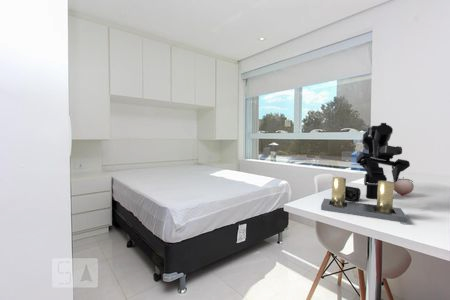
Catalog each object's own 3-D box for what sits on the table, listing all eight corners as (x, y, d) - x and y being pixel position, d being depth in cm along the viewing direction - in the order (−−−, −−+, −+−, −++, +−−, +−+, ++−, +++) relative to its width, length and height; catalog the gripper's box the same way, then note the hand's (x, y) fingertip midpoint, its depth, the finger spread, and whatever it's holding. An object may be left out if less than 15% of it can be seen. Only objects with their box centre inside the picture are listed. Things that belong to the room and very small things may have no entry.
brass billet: (374, 214, 87) (376, 181, 86) (378, 211, 90) (380, 180, 89) (389, 218, 83) (392, 183, 82) (393, 215, 87) (395, 182, 86)
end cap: (360, 201, 108) (361, 187, 108) (354, 203, 104) (355, 189, 103) (339, 196, 116) (339, 183, 115) (332, 199, 111) (333, 185, 111)
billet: (331, 209, 94) (332, 178, 93) (331, 205, 98) (332, 176, 97) (344, 211, 91) (345, 179, 90) (344, 207, 96) (345, 177, 95)
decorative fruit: (398, 197, 115) (398, 178, 115) (388, 193, 123) (389, 175, 123) (418, 198, 114) (419, 178, 113) (407, 194, 122) (408, 176, 122)
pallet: (320, 211, 92) (321, 205, 92) (324, 203, 103) (324, 198, 103) (406, 224, 79) (407, 217, 78) (400, 214, 89) (400, 208, 89)
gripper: (366, 134, 96) (368, 165, 88) (415, 142, 92) (421, 175, 84) (355, 148, 105) (356, 177, 98) (399, 156, 101) (404, 187, 94)
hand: (383, 179), depth 93 cm, fingers open, 9 cm apart
